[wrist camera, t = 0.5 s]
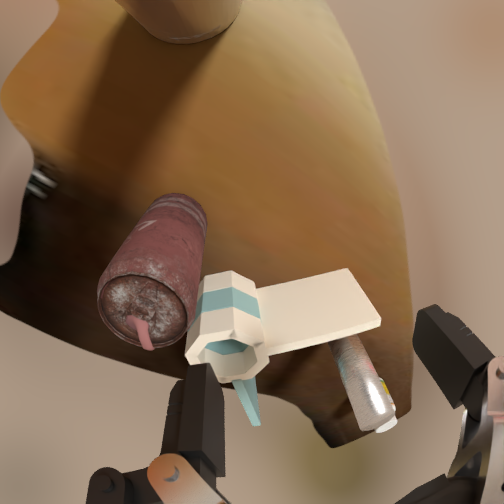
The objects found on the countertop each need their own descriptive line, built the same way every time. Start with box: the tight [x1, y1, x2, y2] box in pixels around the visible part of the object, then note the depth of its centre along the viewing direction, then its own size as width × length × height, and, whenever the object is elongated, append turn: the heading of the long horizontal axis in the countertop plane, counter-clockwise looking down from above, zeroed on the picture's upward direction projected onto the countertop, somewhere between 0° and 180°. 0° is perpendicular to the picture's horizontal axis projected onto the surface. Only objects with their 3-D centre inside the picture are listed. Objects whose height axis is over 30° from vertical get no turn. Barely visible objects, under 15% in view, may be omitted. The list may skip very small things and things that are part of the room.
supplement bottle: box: [375, 378, 397, 433], centre depth 40 cm, size 5×5×10 cm
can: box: [97, 193, 207, 350], centre depth 21 cm, size 6×6×14 cm
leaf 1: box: [188, 287, 262, 426], centre depth 30 cm, size 18×7×9 cm, turn 11°
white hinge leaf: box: [185, 268, 381, 383], centre depth 27 cm, size 7×18×9 cm, turn 101°
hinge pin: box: [328, 333, 395, 431], centre depth 27 cm, size 4×4×16 cm
